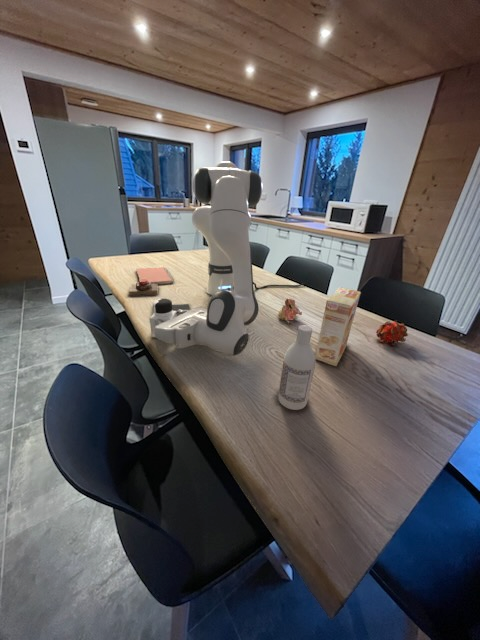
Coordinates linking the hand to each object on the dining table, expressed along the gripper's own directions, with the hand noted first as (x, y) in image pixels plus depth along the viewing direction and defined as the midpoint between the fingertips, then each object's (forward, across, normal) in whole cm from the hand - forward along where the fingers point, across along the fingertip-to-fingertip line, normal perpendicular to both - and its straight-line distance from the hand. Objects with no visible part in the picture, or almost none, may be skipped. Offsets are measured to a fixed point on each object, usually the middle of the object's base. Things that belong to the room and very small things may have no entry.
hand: (167, 316), depth 88 cm
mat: (+12, -13, +6) cm, 19 cm away
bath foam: (-48, +5, +7) cm, 48 cm away
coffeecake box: (-49, -23, +7) cm, 55 cm away
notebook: (+53, -40, +7) cm, 67 cm away
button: (+39, -21, +3) cm, 45 cm away
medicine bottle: (+1, +1, +7) cm, 7 cm away
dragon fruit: (-64, -42, +7) cm, 77 cm away
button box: (+39, -21, +7) cm, 45 cm away
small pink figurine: (-29, -38, +7) cm, 48 cm away
